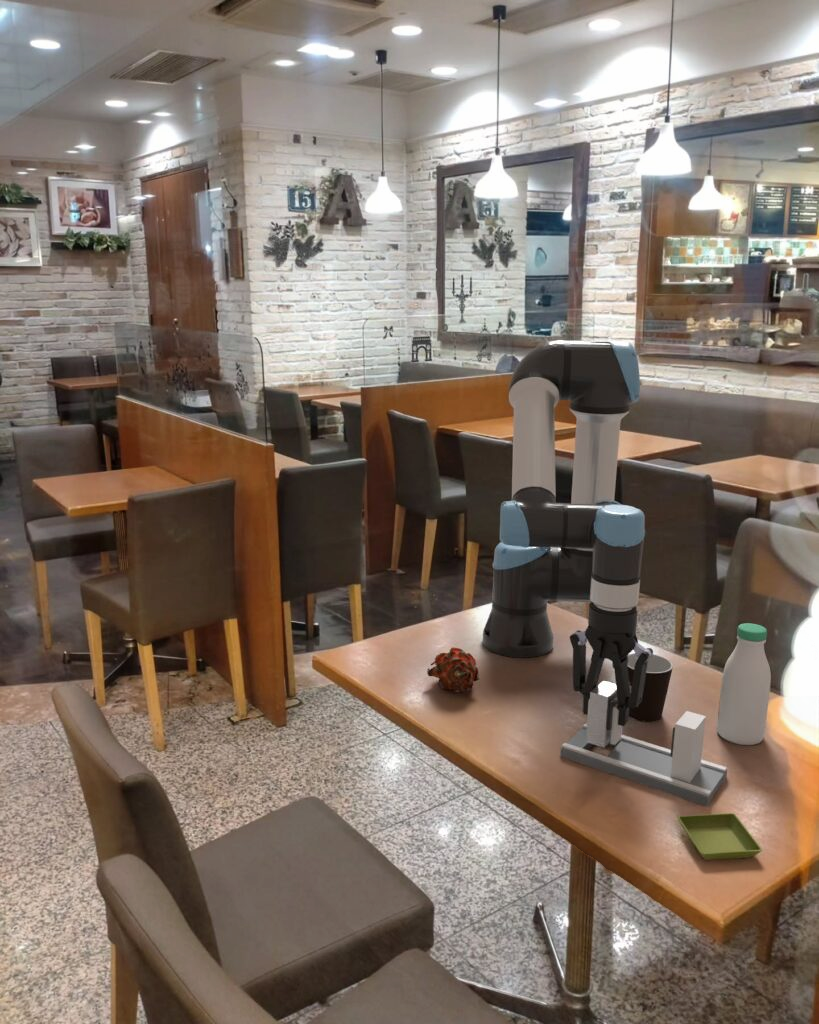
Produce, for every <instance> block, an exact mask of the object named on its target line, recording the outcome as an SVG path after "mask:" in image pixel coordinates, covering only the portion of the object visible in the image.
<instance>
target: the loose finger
mask: <svg viewBox="0 0 819 1024" xmlns="http://www.w3.org/2000/svg"><path fill="white" fill-rule="evenodd" d="M617 703H618V699H617V690H616V683H613V682H610V681H607V680H603V681H601V682H600V683H599V684H597V687H596V688H594V689H593V690H592V691H591V692H590V705H589V720H588V734H587V742H588V743H591V744H594V745H595V746H597V747H600V748H603V749H604V748H606V747H607V746H608V745H607V744H608V743H609V742H610V741H611V730H612V717H613V707H614V706H615V705H616V704H617ZM594 745H593V746H594Z"/></svg>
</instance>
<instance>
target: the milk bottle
mask: <svg viewBox="0 0 819 1024" xmlns="http://www.w3.org/2000/svg"><path fill="white" fill-rule="evenodd" d="M736 632H737V636H736V639H737V644H736V645H735V648H734V649H733V651H732V653H731V654H730V655H729V657H728V659H727V660H726V662H725V665H724V668H723V674H722V680H721V686H720V696H719V705H718V713H717V721H716V722H717V723H716V730H717V734H718V735H719V736H720V737H721V738H723V739H724V740H725V741H728V742H730V743H732V744H736V745H741V746H754V745H758V744H760V743H761V742H763V740H764V738H765V733H766V732H765V731H766V724H767V716H768V708H769V700H770V692H771V682H772V681H771V680H772V679H771V678H772V676H771V675H772V673H771V669H770V668H771V667H770V664H769V661H768V658H767V656H766V653H765V644H766V642H767V635H768V630H767V628H766V627H764V626H762V625H759V624H756V623H751V622H750V623H749V622H747V623H745V622H744V623H741V624H739V625H738V626H737V630H736Z"/></svg>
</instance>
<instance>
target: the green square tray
mask: <svg viewBox="0 0 819 1024" xmlns="http://www.w3.org/2000/svg"><path fill="white" fill-rule="evenodd" d="M677 820H678V822H679V824H680V826H681V828H682V829H683V830H684V832H685V833H686V835H687V836H688V839H690V841H691V842H692V843H693V845H694V847H695V848H696V849H697V851H698V853H699V854H700V856H701V857H702V858H703V859H704V860H707V861H708V859H709V860H721V859H722V860H723V859H724V860H725V859H741V858H740V857H744V858H752V857H754V856H756V855H758V854H760V853H762V851H763V849H762V847H761V845H760V844H759V843H758V842H757V840H756V839H755V838H754V837H753V836H752V834H751V833H750V831H749V830H748V829H747V828H746V826H745V825H744V824H743V822H742V821H741V820H740V819H739V817H738V815H737V814H736V813H733V812H732V813H731V812H725V813H712V814H710V813H709V814H707V813H706V814H695V815H693V814H690V815H678V816H677Z"/></svg>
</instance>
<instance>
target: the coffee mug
mask: <svg viewBox="0 0 819 1024" xmlns="http://www.w3.org/2000/svg"><path fill="white" fill-rule="evenodd" d="M636 661H637V660H636V659H635V652H634V653H629V654H628V663H627V667H628V676H629V686H630V694H631V688H632V681H633V674H634V667H635V664H636ZM673 667H674V665H673V663H672V661H671V660H670V659H668V658H666V657H664V656H662V655H658V654H656V653H653V654H652V656H651V657H650V659H649V661H648V664H647V671H646V677H645V684H644V690H643V697H642V701H641V703H640V704H639V705H638V706H637V707H636V708H631V707H629V717H628V718H630V719H632V720H635V721H638V722H642V723H653V721H655V722H657V720H658V721H660V720H661V718H662V716H663V712H664V708H665V703H666V700H667V695H668V689H669V686H670V680H671V677H672V673H673V669H674V668H673Z"/></svg>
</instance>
